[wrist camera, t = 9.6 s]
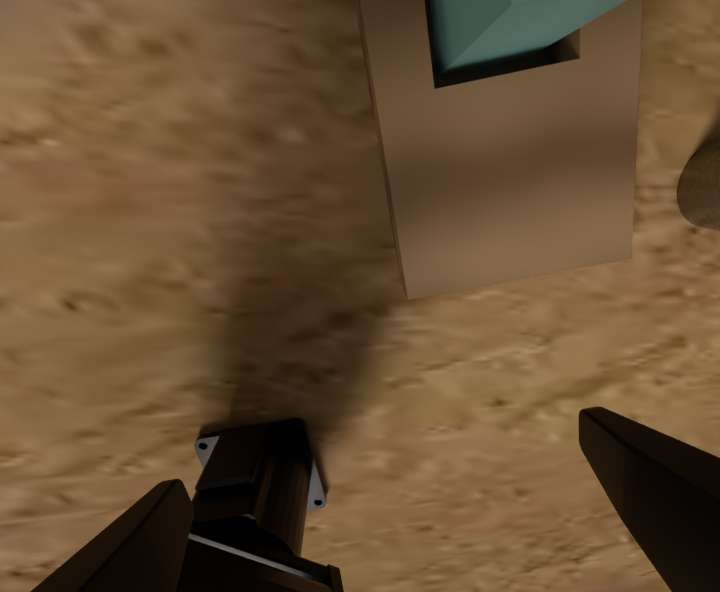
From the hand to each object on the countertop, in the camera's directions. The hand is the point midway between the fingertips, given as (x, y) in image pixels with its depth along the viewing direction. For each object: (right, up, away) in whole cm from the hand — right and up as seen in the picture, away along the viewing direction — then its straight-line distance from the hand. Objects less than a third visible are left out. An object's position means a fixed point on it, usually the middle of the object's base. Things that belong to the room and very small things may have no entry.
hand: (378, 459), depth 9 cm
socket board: (+5, +13, +8) cm, 16 cm away
